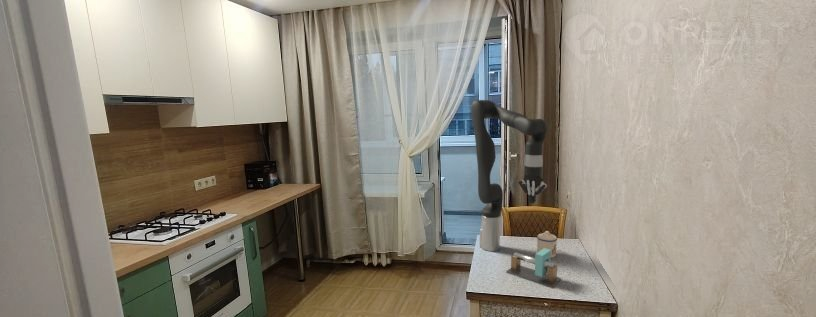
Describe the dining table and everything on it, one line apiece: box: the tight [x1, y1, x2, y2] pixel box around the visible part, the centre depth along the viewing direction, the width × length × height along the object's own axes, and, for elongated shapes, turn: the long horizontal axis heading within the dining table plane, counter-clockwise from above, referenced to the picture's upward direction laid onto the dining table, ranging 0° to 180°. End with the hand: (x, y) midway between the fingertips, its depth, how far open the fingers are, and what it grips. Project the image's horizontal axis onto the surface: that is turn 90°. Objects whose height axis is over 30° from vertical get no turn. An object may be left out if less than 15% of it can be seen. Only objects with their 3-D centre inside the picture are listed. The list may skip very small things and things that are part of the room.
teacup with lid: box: [536, 230, 558, 259], centre depth 176 cm, size 12×9×12 cm
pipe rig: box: [506, 252, 562, 289], centre depth 153 cm, size 20×9×8 cm, turn 45°
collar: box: [534, 248, 552, 277], centre depth 149 cm, size 3×8×9 cm, turn 135°
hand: (532, 203), depth 160 cm, fingers closed
